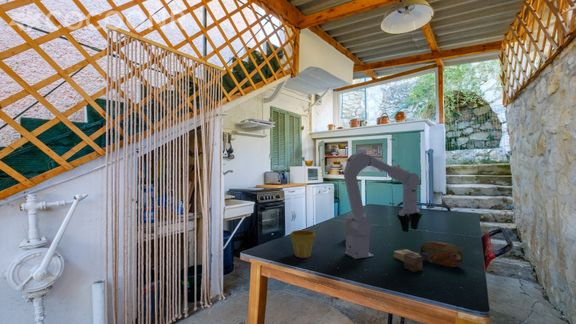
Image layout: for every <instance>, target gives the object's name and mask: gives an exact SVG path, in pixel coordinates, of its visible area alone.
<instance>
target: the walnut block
mask: <svg viewBox="0 0 576 324" xmlns="http://www.w3.org/2000/svg"><path fill="white" fill-rule="evenodd" d="M403 268H404V269H406V270H409V271H411V272H420V271H423V257H422V255H420V256H419V255H417V254H414V253H410V254H404V262H403Z"/></svg>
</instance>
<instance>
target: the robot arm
mask: <svg viewBox="0 0 576 324" xmlns="http://www.w3.org/2000/svg"><path fill="white" fill-rule="evenodd" d="M370 166H371V167H373V168H376V169H378V170H380V171H382V172H385V173H387V176H388V177H389V178H391V179H394V180H395V181H398V182H400V183H401V184H402V209H401V210H398V214H397V215H396V217H397V219H398V220H399V222H400V226H401V230H402V232H405V233H408V232H409V228H411V230H415V231H416V230H417V229H418V226H419V223H420V219H421V218H422V217H423V214H422V213H421V208H418V188H419V187H418V186H419V185H420V183H421V179H420V177H419V174H417V173H415V172H410V170H409V169H404V168H402V167H401V165H399V164H393V165H390V164H388V163H386V162H384V161H381V160H380V159H378V158H376V157H374V156H373V155H370V154H367V153H365V152H360V153H353V154H351V155H350V156H348V158H347V159H346V165H345V168H344V171H343V176H344V182H345V186H346V193H347V197H348V200H349V207H350V210H351V215H350V217H351V223H350V225H351V228H352V229H353V231H352V234H351V235H349V236H347V238H346V239H345V252H344V253H345V255H348V256H350V257H351V258H353V259H355V260H357V259H363V258H370V257H371V258H372V257H374V255H375V254H372V253H370V234H371V233H372V229H373V226H372V224H371V223H370V221H369V219H368V216H367V214H366V212H365V209H364V205H363V200H362V196H361V191H360V185H359V182H358V175H359V174H360V172H361V171H362V170H364V169H365V168H367V167H370Z"/></svg>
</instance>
